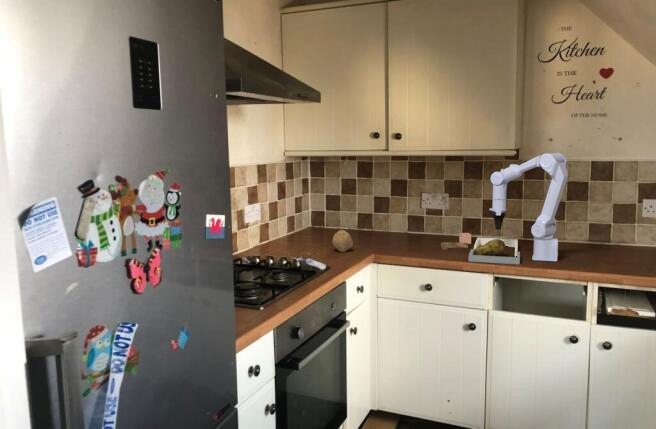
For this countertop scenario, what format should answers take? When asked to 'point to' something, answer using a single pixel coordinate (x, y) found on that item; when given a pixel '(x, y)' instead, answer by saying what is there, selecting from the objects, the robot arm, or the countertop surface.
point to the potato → (490, 248)
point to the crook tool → (454, 245)
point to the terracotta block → (465, 238)
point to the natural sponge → (342, 241)
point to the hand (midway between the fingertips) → (498, 229)
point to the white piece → (507, 241)
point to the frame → (494, 258)
